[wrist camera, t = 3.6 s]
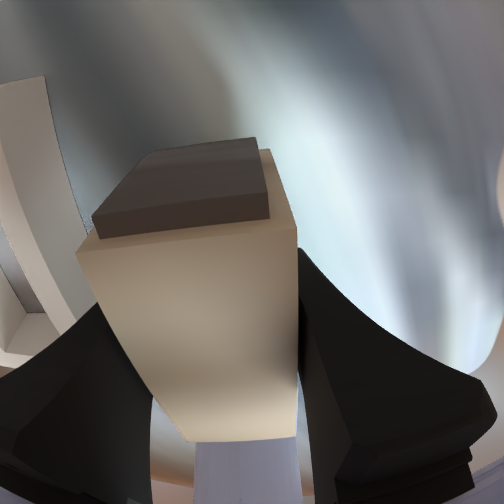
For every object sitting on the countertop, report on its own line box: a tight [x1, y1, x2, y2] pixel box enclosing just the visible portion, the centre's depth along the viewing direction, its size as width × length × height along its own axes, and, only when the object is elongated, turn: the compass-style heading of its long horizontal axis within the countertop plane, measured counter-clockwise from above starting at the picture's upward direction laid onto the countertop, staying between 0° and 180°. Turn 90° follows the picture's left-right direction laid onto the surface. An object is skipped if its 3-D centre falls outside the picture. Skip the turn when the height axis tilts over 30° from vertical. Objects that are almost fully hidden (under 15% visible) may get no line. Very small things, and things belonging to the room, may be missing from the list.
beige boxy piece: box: [75, 137, 298, 442], centre depth 9 cm, size 9×4×5 cm, turn 6°
